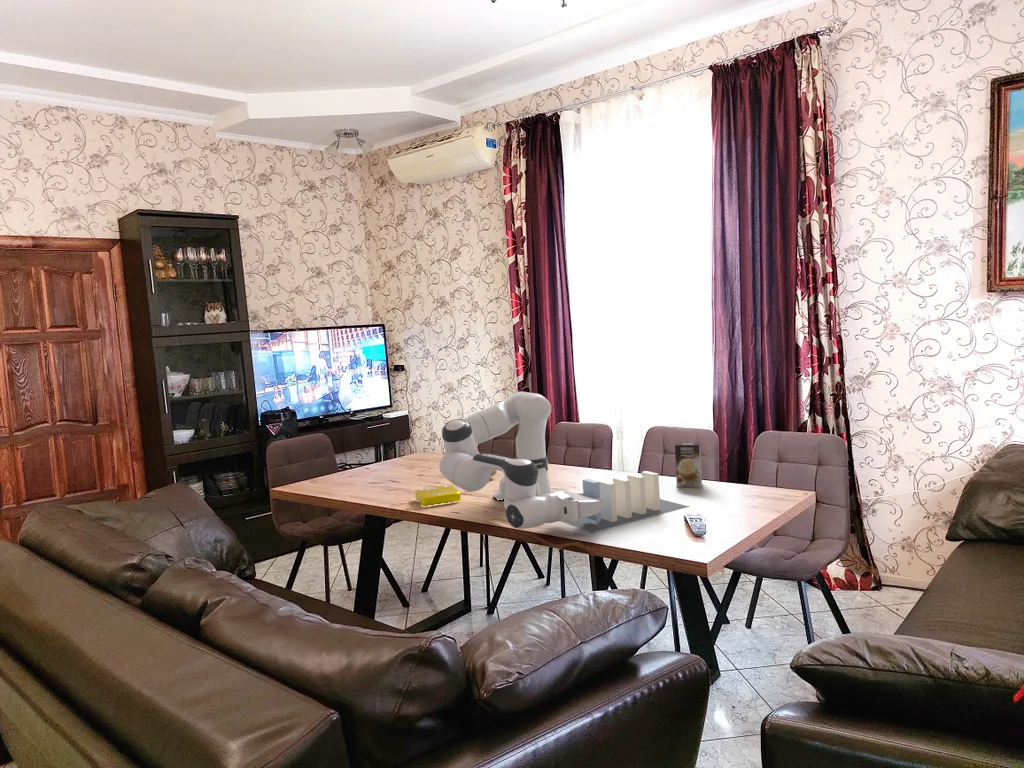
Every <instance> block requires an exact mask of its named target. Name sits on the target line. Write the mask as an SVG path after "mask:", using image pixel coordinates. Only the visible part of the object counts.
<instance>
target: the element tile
mask: <svg viewBox="0 0 1024 768" xmlns="http://www.w3.org/2000/svg"><path fill="white" fill-rule="evenodd" d="M414 493H415V501H416V500H418V501H419V503H420V504H421V505H423V506H428V505H434V504H441V503H448V502H454V501H459V500H461V501H462V496H461V491H460V490H458V489H457V488H456V487H455V486H453V485H451V484H450V485H442V486H436V487H435V486H434V487H428V488H427V487H424V488H421V489H416V490H415V492H414Z"/></svg>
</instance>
